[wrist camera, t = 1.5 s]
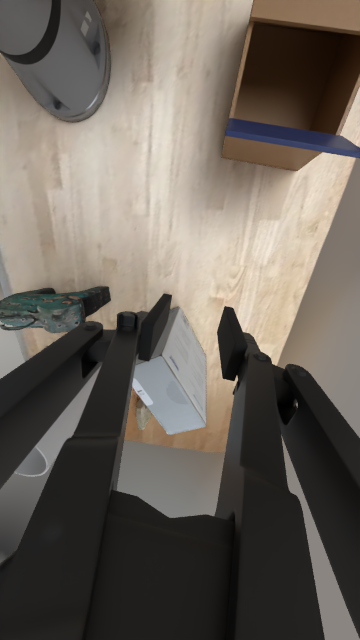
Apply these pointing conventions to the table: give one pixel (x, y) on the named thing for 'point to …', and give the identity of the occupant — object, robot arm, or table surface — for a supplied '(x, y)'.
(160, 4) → the table surface
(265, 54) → the carton
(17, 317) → the ceramic cat
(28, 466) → the cylinder vase
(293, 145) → the flap
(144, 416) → the cuneiform tablet
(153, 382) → the hard drive box
